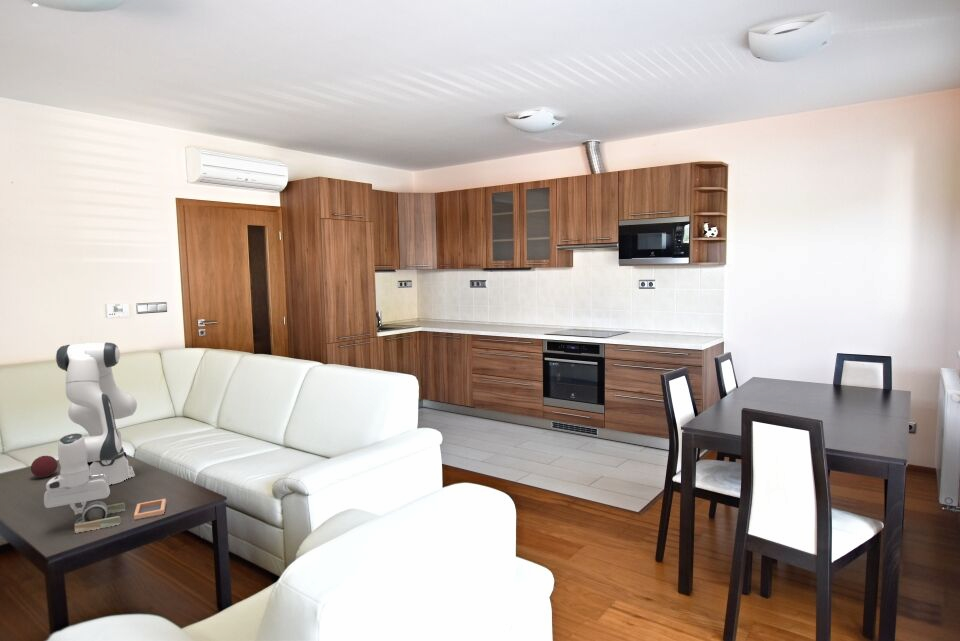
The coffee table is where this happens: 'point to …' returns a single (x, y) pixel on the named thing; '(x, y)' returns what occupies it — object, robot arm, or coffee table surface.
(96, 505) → the ceramic mug
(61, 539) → the coffee table surface
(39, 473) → the decorative ball
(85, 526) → the channel walls
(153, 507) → the frame
